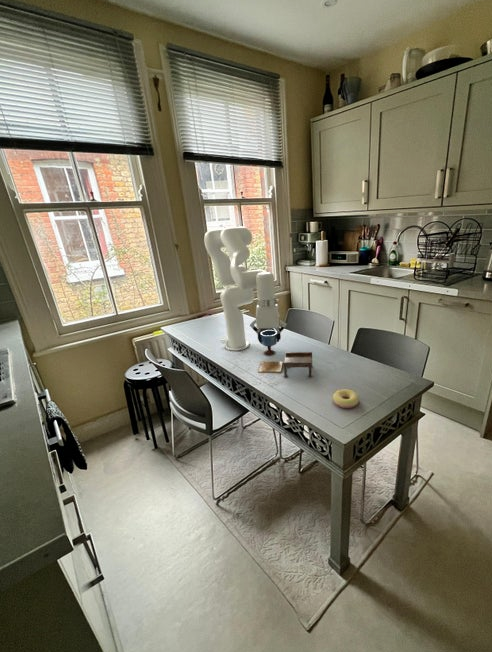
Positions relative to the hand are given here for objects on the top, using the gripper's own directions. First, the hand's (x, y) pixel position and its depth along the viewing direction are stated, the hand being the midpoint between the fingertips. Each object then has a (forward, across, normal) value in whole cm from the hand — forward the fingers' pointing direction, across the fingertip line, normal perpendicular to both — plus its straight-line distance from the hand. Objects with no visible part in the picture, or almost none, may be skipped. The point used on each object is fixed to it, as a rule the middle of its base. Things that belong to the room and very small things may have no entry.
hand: (269, 340), depth 141 cm
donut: (+14, -32, +28) cm, 44 cm away
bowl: (+1, 0, 0) cm, 1 cm away
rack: (+14, -13, +4) cm, 19 cm away
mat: (+13, 0, 0) cm, 13 cm away
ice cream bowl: (+14, +3, -16) cm, 21 cm away
